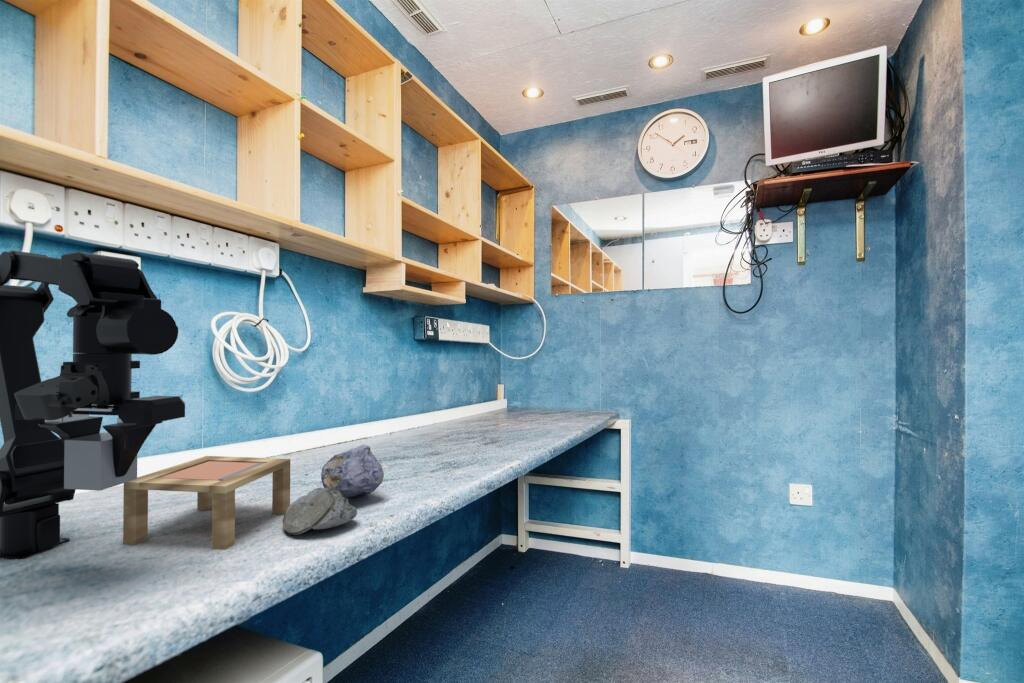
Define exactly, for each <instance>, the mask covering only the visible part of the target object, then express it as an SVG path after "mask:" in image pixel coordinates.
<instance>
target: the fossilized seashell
mask: <svg viewBox="0 0 1024 683" xmlns="http://www.w3.org/2000/svg"><path fill="white" fill-rule="evenodd" d="M357 515H358V511H357V508H356V507H355V506H353V505H351V504H350V503H349V499H348V498H345V497H344V495H342V494H341V492H339V491H338V490H336V489H334V488H331V487H328V488H324V487H321V486H320V487H316V488H314V489H312V490H310V491H309V492H308V493H307V494H306V495H302V496H300V497H298V498H297V499H296V500H294V501H293V502H290V506H289V507H288V509H287V510H286V512H285V514H283V517H282V528H283V530H285V531H286V534H287V533H288V534H289V535H293V536H297V535H302V534H303V533H306V532H308V531H309V530H311V529H312V530H328V529H332V528H336V527H339V526H342V525H344V524H345V523H348V522H350V521H351V520H353V519H355V518H356V517H357Z"/></svg>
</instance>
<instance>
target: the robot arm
mask: <svg viewBox="0 0 1024 683" xmlns="http://www.w3.org/2000/svg"><path fill="white" fill-rule="evenodd" d="M139 267H140V265H139V263H138V262H137V261H136V260H134V259H130V258H124V257H119V256H117V257H116V256H110V255H104V254H97V253H96V254H95V253H92V252H91V253H89V252H83V251H74V252H69V253H68V252H66V253H64V254H63V253H62V254H61V256H60V257H51V256H47V255H46V254H41V253H35V252H28V251H20V250H19V251H18V250H9V251H6V250H5V251H2V252H1V254H0V426H1V432H2V438H3V443H2V446H1V447H0V558H4V559H3V560H15V559H18V560H20V559H21V560H25V559H28V558H30V557H32V556H35V555H37V554H40V553H43V552H45V551H48V550H51V549H53V548H56V547H58V546H60V545H63V544H66V543H68V542H69V541H70V537H62V536H61V515H60V503H61V502H68V501H72V500H74V497H75V493H76V490H77V489H64V447H65V440H68V439H73V438H78V437H83V436H88V435H93V434H99V433H101V429H104V430H105V431H106V433H109V434H110V435H111V436H112V439H113V461H114V470H115V476H116V477H121V476H124V475H126V473H127V471H128V470H129V468H130V466H131V464H132V463H133V461H134V459H135V457H136V455H137V456H138V453H139V452H140V450H141V448H142V447H143V445H144V443H145V442H146V441H147V439H148V437H149V436H150V434H151V433H152V431H153V430H154V429H155V428H156V425H159V424H162V423H163V422H167V421H172V420H176V419H180V418H185V417H186V403H185V400H183V398H182V397H181V396H179V395H151V396H144V397H141V394H140V391H137V390H136V391H134V390H133V391H132V378H133V377H132V371H133V370H134V369H140V368H141V360H132V359H133V355H150V356H151V355H152V356H153V355H154V356H156V355H159V354H163V353H165V352H168V351H169V350H170V349H171V348H173V347H174V345H175V344H176V342H177V339H178V336H179V326H178V325H177V323H176V321H175V319H174V318H173V316H172V315H171V314H170V313H169V312H167V311H166V310H164V309H162V300H161V299H160V298H158V297H157V296H156V293H155V292H154V290H152V288H151V287H150V284H149V282H148V280H147V278H146V276H145V274H144V272H143V271H142V270H141V269H140V268H139ZM10 280H13V281H14V280H16V281H26V282H27V281H29V282H37V283H40V284H39V285H38V287H37V288H36V289H35V288H34V287H31V286H23V285H22V286H20V285H10V284H8V283H9V282H10ZM50 285H54V286H58V289H57V290H58V291H59V292H61V293H63V294H65V295H67V296H69V297H71V298H72V299H73V300H74V301H75V302H76V304H75V305H74V306H72V307H71V308H69V310H68V311H67V312H66V316H67V317H68V318H72V320H73V321H72V323H73V324H72V326H73V327H72V328H73V330H72V331H73V332H72V361H63V362H62V364H61V365H60V374H59V375H58V376H56V377H53V378H49V379H45V380H42V378H41V372H40V367H39V362H38V357H37V351H36V347H35V342H34V337H35V336H36V334H37V333H38V331H39V329H41V327H42V325H43V323H44V322H45V313H46V311H47V310H48V309H49V307H50V306H51V305H52V304H53V301H54V299H55V298H54V296H53V294H52V291H51V289H50V287H49V286H50ZM132 369H133V370H132ZM103 416H118V417H117V419H116V420H117V422H116V423H111V424H106V425H102V423H103V420H104V417H103ZM6 558H7V559H6Z"/></svg>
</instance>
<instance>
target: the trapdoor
mask: <svg viewBox="0 0 1024 683" xmlns="http://www.w3.org/2000/svg"><path fill="white" fill-rule="evenodd" d="M262 464H264V463H244V462H217V461H208V462H205V463H202V464H199V465H196V466H193V467H190V468H187V469H184V470H181V471H178V472H175V473H172V474H169V475H166V476H163V477H160V478H172V479H196V480H219V481H222V480H225V479H227V478H230V477H232V476H235V475H237V474H239V473H242V472H244V471H247V470H249V469H252V468H254V467H257V466H259V465H262Z"/></svg>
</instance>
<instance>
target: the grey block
mask: <svg viewBox="0 0 1024 683" xmlns="http://www.w3.org/2000/svg"><path fill="white" fill-rule="evenodd" d="M137 478H138V454H137V455H136V457H135V459H134V461H133V463H132V464H131V466H130V468H129V470H128V471H127V473H126V475H124V476H121V477H116V476H115V470H114V461H113V439H112V436H111V435H110V434H109V433H108V432H100V433H99V434H93V435H88V436H83V437H78V438H73V439H68V440H65V447H64V489H76V490H84V491H99V492H100V491H103V490H106V489H110V488H113V487H116V486H119V485H124V483H126V482H129V481H132V480H135V479H137Z"/></svg>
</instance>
